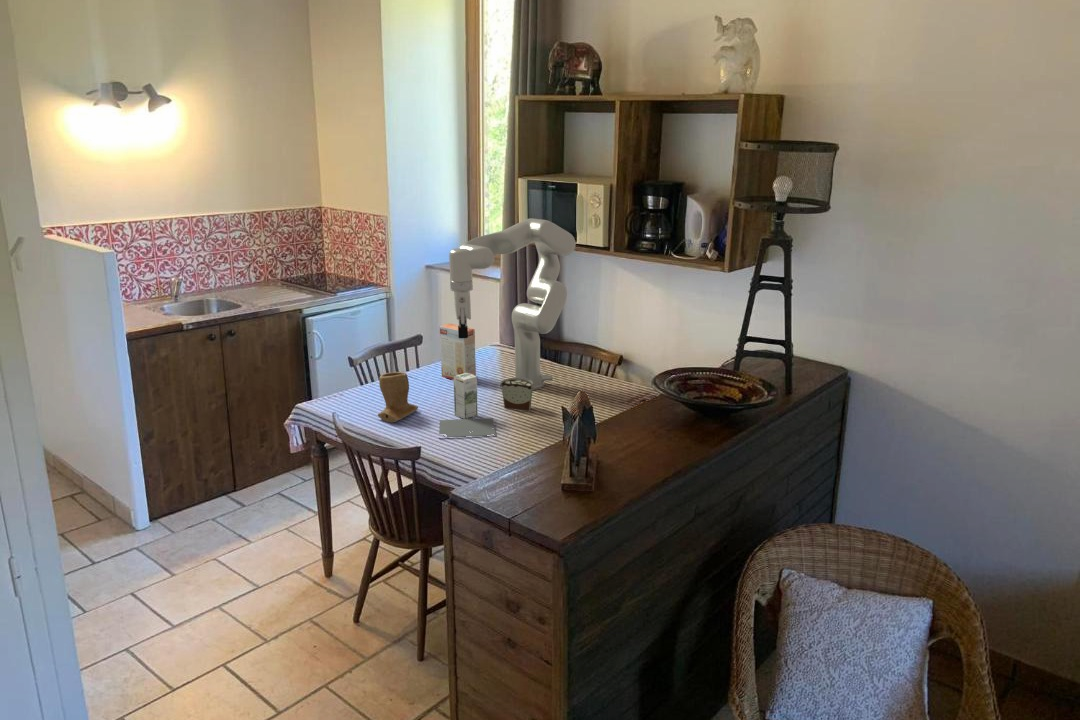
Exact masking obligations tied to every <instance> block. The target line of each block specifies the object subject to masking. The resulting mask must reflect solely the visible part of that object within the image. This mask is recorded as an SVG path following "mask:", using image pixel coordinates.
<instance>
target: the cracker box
mask: <svg viewBox="0 0 1080 720" xmlns="http://www.w3.org/2000/svg"><path fill="white" fill-rule="evenodd" d="M458 326H459V324H458V325H457V324H453V323H446V324H443V325H440V326H439V339H440V340H439V341H440V363H441V366H440V367H441V377H443V378H444V379H445V378H446V379H449V380H453V381H454V376H457V375H461V374H464V373H470V374H472V375H474V376H476V377H477V368H476V367H477V365H476V364H477V362H476V335H475V333H476V332H475V329H474V328H471V327H468V338H459V335H458Z"/></svg>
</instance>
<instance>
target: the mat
mask: <svg viewBox="0 0 1080 720" xmlns="http://www.w3.org/2000/svg"><path fill="white" fill-rule="evenodd" d="M492 428H494V429H492ZM438 429H439V431H438V434H446V435H447V437H466V436H487V435H491V434H494V435H496V429H495V421H494V417H486V418H485V417H483V418H468V419H462V418H460V419H459V418H458V419H456V418H455V419H440V420H439V428H438ZM469 431H470V432H471V433H470V432H469ZM472 431H473V432H472ZM443 436H444V435H443ZM496 436H497V435H496ZM444 437H445V436H444Z"/></svg>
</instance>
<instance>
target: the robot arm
mask: <svg viewBox="0 0 1080 720" xmlns="http://www.w3.org/2000/svg"><path fill="white" fill-rule="evenodd" d="M531 244H535V247H536V252H537V254H538V264H537V267H536V269H535V271H534V274H533V276H532V278H531V280H530V282H529V284H528V287H527V289H526V297H527V299H528V300H529V301H531V302H533V303H535V304H532V303H525V302H524V303H518V304H517V305H516V306H515V307H514V308H513V310H512V312H511V322H512V323H511V324H512V327H513V333H514V370H515V371H514V374H515V376H514V378H525V379H529V380H531V381H532V382H533V385H534V390H535V391H536V390H538V389H541V388H543V387H544V386H545V382H546V381H547V382H549V381H550V382H551V381H553V379H554V378H553V375H549V374H542V373H541V337H540V334H541V335H542V334H543V335H544V334H549V333H550V332H551V331H552V330H553V329H554V328H555V326H556V323H557V321H558V319H559V317H560V315H561V312H562V310H563V308H564V307H565V304H566V302H567V296H568V294H567V293H568V291H567V288H566V285H565V284H564V283H563V282H561V281H558V280H557V279H558V277H559V275H560V271H561V264H560V259H559V257H558V256H562V257H567V256H570V255H571V254H572V253H573V252H574V251H575V249H576V244H577V243H576V240H575V237H574V236H573V234H572V233H570V232H569V231H567V230H566V229H564V228H562V227H560V226H559V225H557V224H556V223H554V222H552V221H550V220H547V219H540V218H533V217H532V218H525V219H523V220H522V221H520V222H518V223H516V224H514V225H511V226H509V227H507V228H506V229H502V230H500V231H495V232H492V233H489V234H484V235H481V236H478V237H474V238H472V239H470V240H468V241H466V242H464V243H463V244H462V245H461V246H459V248H457V247H456V248H453V249H451V250H450V251H449V253H448V254H449V255H448V257H449V258H448V261H449V281H450V282H449V284H450V285H449V286H450V291H451V292H453V293H454V295H453V297H454V309H455V316H456V320H457V321H458V325H459V326H458V335H459V338H468V328H469V327H468V323H467V322H468V321H467V320H469V321H470V320H471V319H472V314H471V313H472V312H471V311H472V309H471V291H472V290H474V289H473V287H474V286H473V283H474V282H473V270H484V269H487V268H490V267H491V266H493V264H494V262H495V258H496V257H495V255H508V254H509V255H510V254H513V253H515V252H518V251H519V250H521V249H523V248H525V247H526V246H527V247H528V245H531ZM537 304H539V305H537ZM540 305H541V306H540ZM534 390H533V389H532V391H534Z"/></svg>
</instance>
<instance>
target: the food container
mask: <svg viewBox="0 0 1080 720" xmlns="http://www.w3.org/2000/svg"><path fill="white" fill-rule="evenodd" d="M499 387H500V388H501V390H502V400H503V408H507V409H506V410H512V409H516V411H520V410H525V411H524V412H529V411H530V412H531V406H532V397H533V396H532V395H533V391H534V385H533V382H532V381H531V380H529V379H525V378H515V377H509V378H506V379H503V380H501V381H500V385H499ZM532 389H533V390H532Z"/></svg>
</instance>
